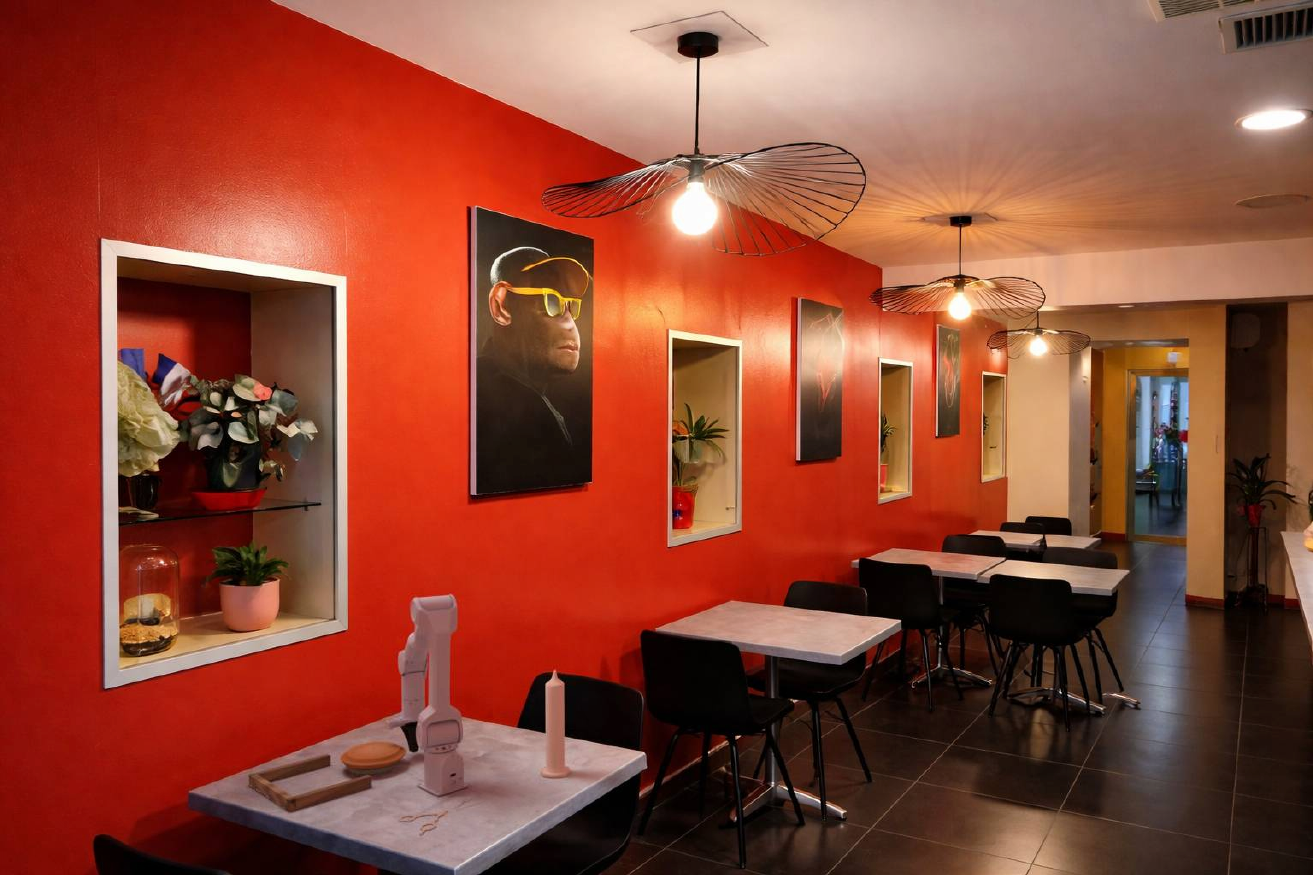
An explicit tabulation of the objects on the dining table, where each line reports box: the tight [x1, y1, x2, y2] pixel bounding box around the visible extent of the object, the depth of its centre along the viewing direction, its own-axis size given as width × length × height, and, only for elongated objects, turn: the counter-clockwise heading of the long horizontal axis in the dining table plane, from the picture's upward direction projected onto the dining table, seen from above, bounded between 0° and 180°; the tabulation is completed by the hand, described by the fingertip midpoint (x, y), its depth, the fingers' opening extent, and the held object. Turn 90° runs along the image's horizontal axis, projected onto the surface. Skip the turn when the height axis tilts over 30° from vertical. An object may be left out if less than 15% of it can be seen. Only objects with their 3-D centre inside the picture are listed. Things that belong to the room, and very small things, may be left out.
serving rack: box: [248, 753, 372, 812], centre depth 219 cm, size 22×20×2 cm
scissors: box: [397, 797, 472, 836], centre depth 204 cm, size 11×1×20 cm
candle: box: [540, 669, 571, 779], centre depth 227 cm, size 7×7×25 cm
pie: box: [340, 741, 407, 777], centre depth 231 cm, size 16×16×5 cm
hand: (413, 751), depth 239 cm, fingers closed
